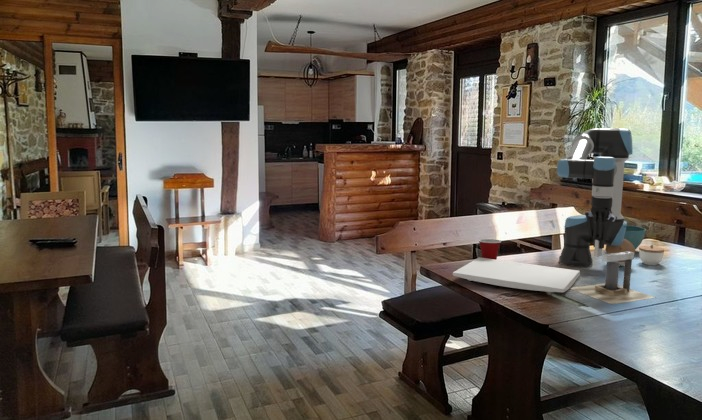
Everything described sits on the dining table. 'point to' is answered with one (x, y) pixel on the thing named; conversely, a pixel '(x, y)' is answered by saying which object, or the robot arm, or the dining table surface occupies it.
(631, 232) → the plant pot
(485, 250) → the plastic cup
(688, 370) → the dining table surface
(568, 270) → the board
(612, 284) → the peg
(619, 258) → the latch
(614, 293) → the socket plate
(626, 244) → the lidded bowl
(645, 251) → the lidded jar
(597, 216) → the robot arm
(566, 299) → the pad
